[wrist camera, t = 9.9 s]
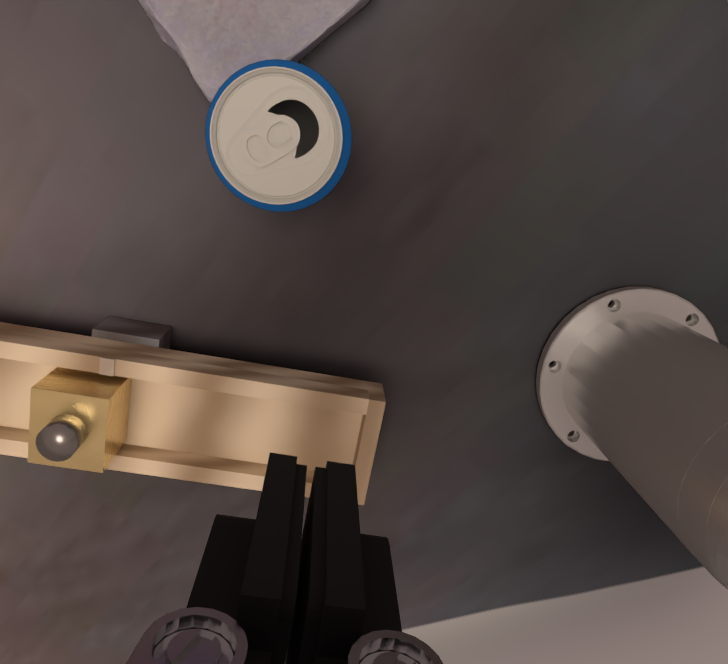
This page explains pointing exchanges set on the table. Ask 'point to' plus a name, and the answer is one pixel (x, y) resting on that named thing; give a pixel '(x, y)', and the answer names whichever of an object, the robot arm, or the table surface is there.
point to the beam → (198, 406)
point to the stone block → (243, 32)
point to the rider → (78, 419)
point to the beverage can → (278, 135)
